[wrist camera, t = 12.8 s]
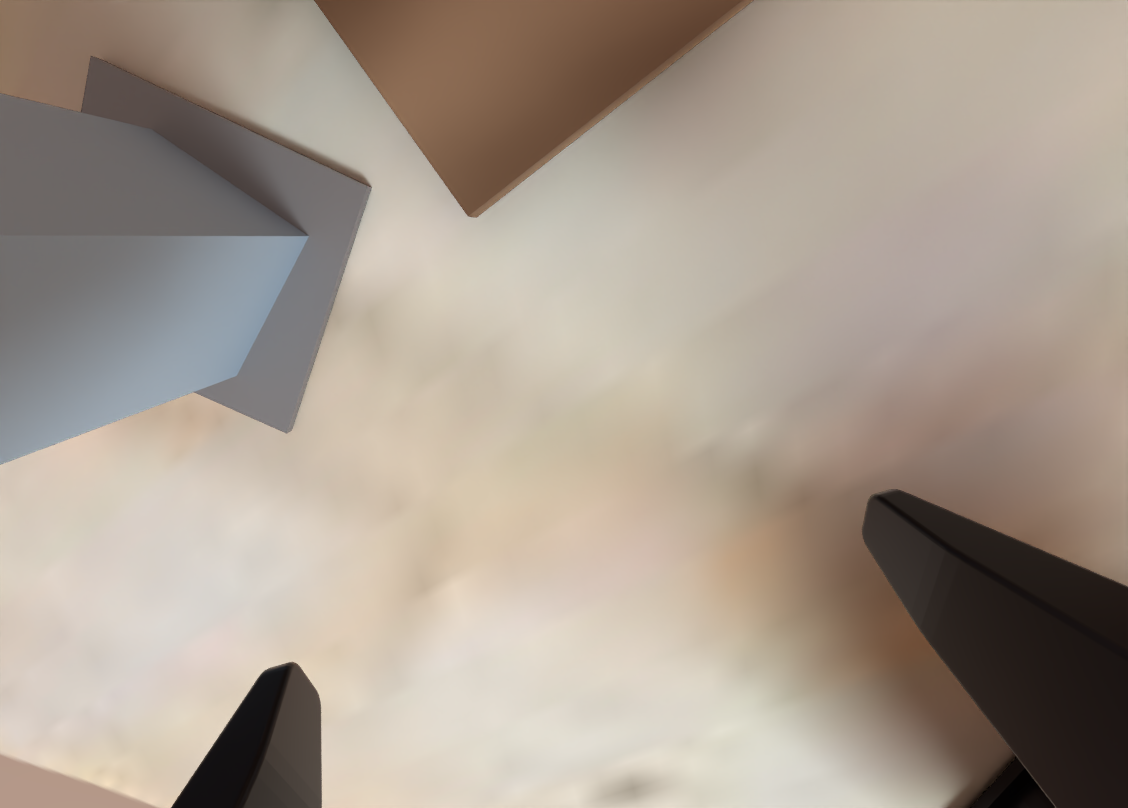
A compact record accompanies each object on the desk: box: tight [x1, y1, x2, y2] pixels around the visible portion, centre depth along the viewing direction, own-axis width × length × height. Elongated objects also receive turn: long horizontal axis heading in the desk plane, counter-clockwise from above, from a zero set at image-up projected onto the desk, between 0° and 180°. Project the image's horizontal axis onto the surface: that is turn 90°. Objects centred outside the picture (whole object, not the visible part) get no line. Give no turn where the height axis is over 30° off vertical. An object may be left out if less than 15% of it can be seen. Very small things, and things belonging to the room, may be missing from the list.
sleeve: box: [0, 93, 309, 465], centre depth 12 cm, size 5×5×9 cm
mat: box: [81, 56, 372, 433], centre depth 17 cm, size 8×8×1 cm
